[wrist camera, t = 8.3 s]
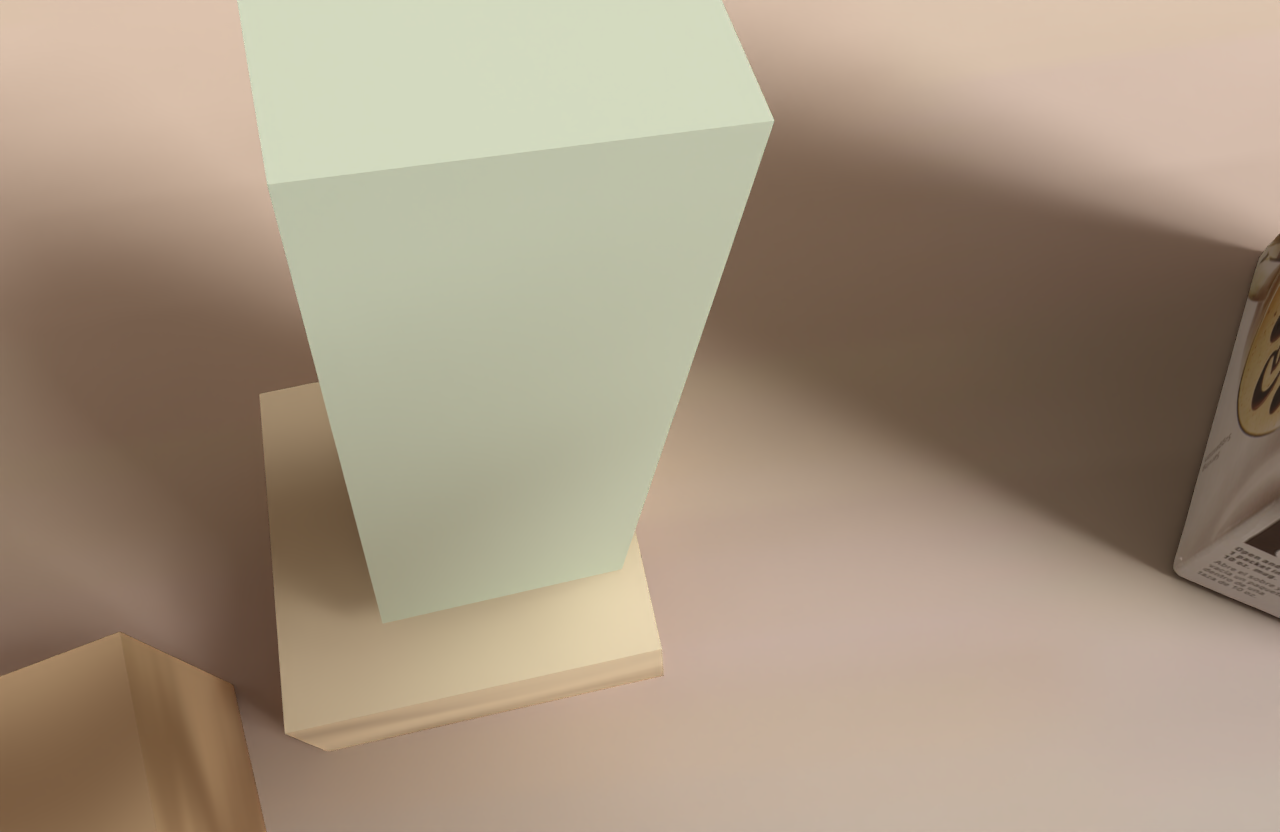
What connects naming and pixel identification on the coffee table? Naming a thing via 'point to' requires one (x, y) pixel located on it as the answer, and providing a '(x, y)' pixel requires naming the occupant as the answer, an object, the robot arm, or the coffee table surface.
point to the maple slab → (426, 644)
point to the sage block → (501, 262)
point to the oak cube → (123, 745)
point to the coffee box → (1243, 462)
